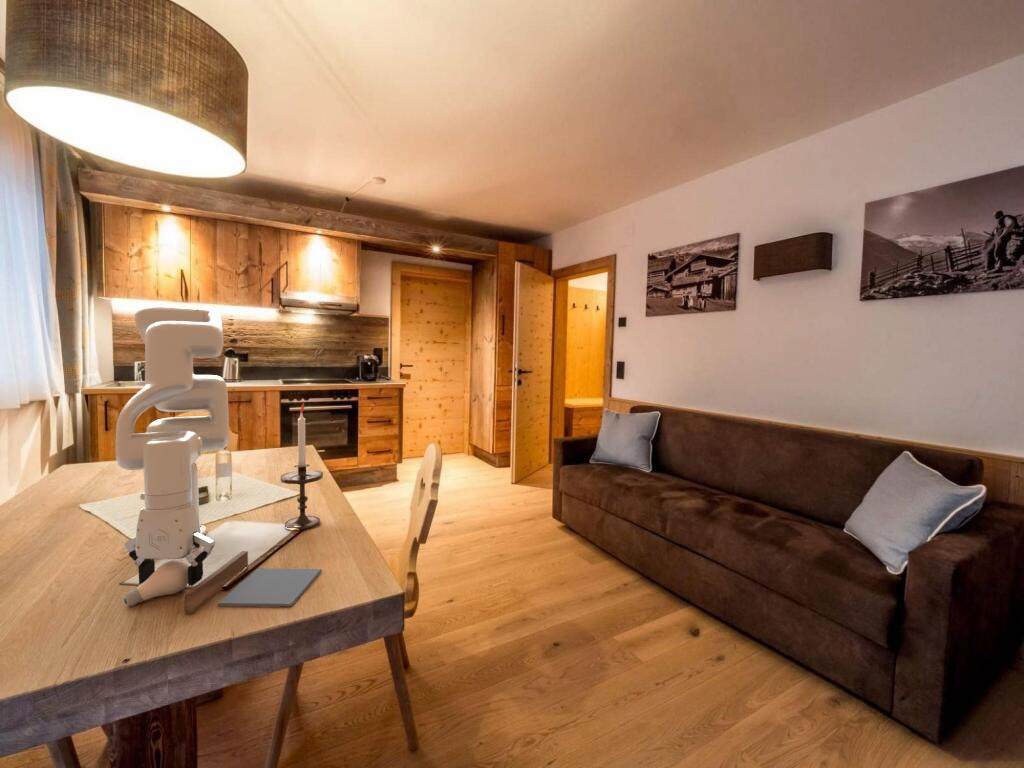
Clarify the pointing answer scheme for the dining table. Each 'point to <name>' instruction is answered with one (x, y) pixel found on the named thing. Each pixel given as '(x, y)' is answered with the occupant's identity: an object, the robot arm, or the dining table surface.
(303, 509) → the candlestick
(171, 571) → the light bulb
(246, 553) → the low wall
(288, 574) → the mat
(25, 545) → the dining table surface
